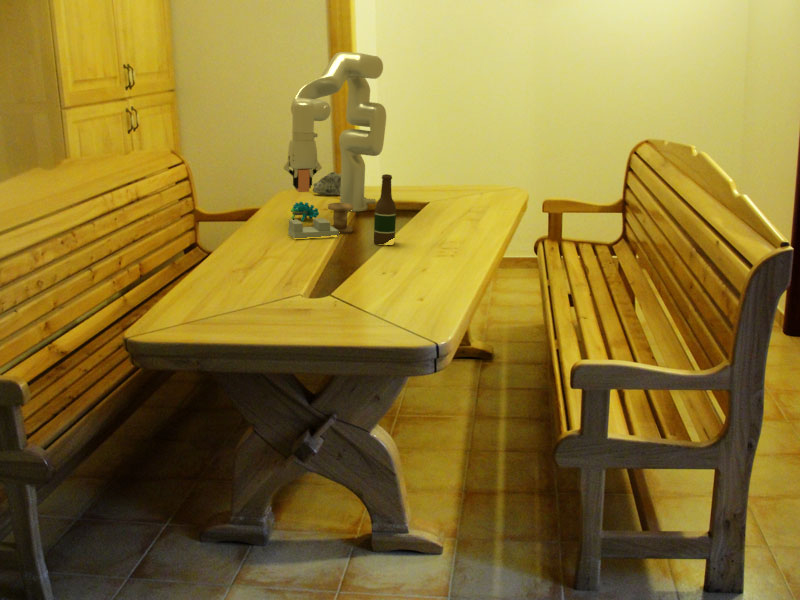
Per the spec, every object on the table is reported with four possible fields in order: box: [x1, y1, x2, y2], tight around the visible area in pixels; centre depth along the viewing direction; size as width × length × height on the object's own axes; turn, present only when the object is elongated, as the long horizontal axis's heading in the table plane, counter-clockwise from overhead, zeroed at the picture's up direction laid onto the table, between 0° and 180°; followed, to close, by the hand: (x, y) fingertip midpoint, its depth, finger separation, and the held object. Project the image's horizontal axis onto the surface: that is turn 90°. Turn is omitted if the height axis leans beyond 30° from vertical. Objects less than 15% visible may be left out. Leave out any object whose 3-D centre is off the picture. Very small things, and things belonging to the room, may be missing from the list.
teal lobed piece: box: [290, 201, 320, 222], centre depth 368 cm, size 11×6×10 cm
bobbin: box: [327, 202, 353, 235], centre depth 354 cm, size 9×9×9 cm
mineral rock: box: [312, 171, 341, 196], centre depth 416 cm, size 13×11×10 cm
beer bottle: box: [373, 174, 397, 245], centre depth 336 cm, size 8×8×24 cm
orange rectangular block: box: [295, 169, 310, 193], centre depth 352 cm, size 4×4×8 cm
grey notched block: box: [287, 217, 340, 239], centre depth 344 cm, size 16×8×6 cm, turn 112°
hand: (302, 187), depth 353 cm, fingers closed on orange rectangular block, 4 cm apart
